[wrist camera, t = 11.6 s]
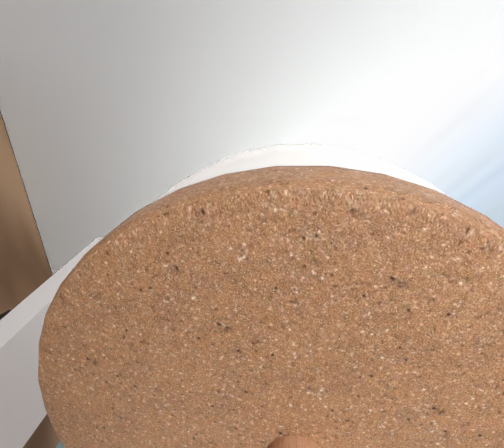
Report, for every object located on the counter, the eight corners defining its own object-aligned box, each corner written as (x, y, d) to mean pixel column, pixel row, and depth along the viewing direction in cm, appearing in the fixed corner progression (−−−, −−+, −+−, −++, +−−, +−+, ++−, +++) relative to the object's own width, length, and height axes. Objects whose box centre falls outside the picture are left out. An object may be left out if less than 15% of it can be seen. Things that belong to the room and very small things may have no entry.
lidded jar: (462, 315, 14) (722, 695, 6) (233, 371, 17) (172, 678, 8) (393, 53, 10) (851, -12, 2) (115, 181, 13) (-204, 385, 5)
